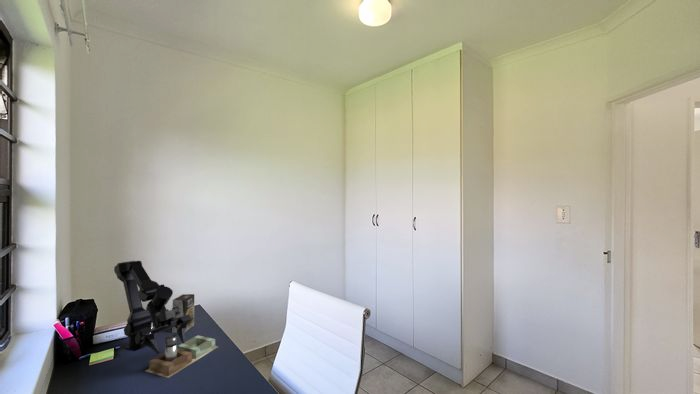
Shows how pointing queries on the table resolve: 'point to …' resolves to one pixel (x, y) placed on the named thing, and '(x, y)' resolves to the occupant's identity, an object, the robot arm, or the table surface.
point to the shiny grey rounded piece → (170, 348)
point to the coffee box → (184, 309)
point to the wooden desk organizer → (182, 356)
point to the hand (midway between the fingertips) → (171, 347)
